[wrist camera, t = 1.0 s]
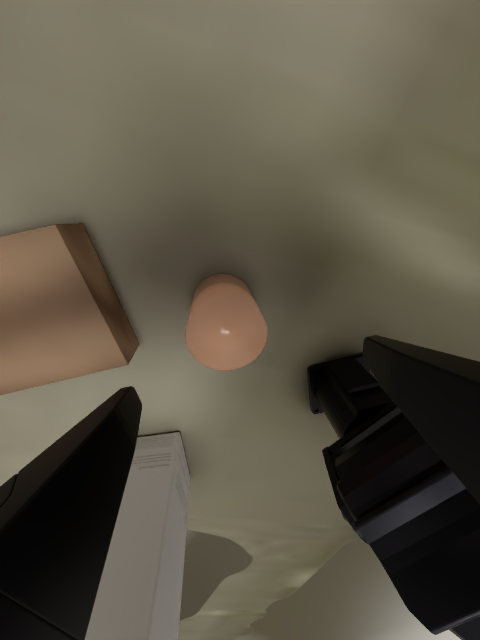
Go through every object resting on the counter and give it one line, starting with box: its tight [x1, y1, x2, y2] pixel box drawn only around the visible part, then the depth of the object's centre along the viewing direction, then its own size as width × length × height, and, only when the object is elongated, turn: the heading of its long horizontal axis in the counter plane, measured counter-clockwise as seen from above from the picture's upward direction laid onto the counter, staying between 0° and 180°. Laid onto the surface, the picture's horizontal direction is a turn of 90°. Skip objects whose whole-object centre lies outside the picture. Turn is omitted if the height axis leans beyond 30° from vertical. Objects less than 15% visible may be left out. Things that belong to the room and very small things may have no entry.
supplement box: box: [85, 432, 190, 640], centre depth 19 cm, size 9×9×15 cm
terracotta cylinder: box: [185, 274, 267, 370], centre depth 16 cm, size 5×5×6 cm
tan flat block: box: [0, 223, 139, 395], centre depth 16 cm, size 10×10×3 cm
